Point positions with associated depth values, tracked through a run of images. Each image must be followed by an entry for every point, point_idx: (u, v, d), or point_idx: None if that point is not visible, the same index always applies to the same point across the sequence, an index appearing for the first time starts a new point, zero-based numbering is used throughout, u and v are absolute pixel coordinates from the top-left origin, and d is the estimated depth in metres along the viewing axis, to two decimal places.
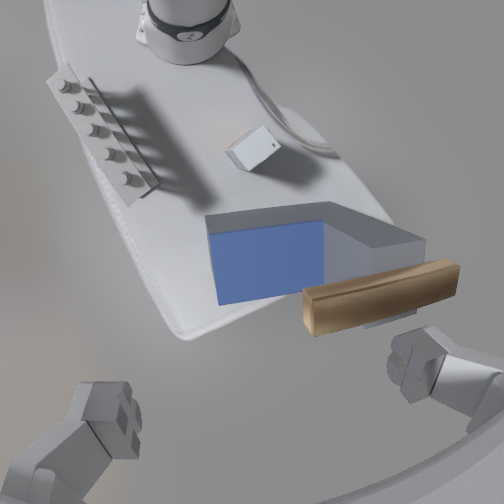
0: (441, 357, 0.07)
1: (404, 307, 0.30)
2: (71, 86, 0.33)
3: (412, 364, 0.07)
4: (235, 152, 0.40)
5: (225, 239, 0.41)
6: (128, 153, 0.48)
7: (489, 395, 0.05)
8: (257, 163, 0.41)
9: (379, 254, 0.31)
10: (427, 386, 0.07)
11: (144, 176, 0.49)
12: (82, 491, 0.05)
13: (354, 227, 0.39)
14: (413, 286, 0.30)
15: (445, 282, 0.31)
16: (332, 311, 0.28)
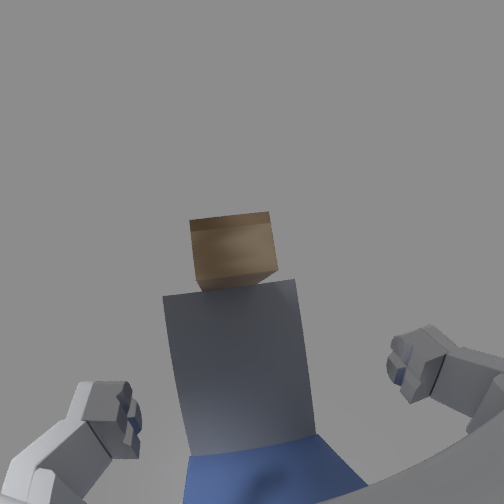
0: (441, 357, 0.07)
1: None
2: None
3: (412, 364, 0.07)
4: None
5: None
6: None
7: (489, 395, 0.05)
8: None
9: None
10: (427, 386, 0.07)
11: None
12: (82, 491, 0.05)
13: None
14: None
15: None
16: None
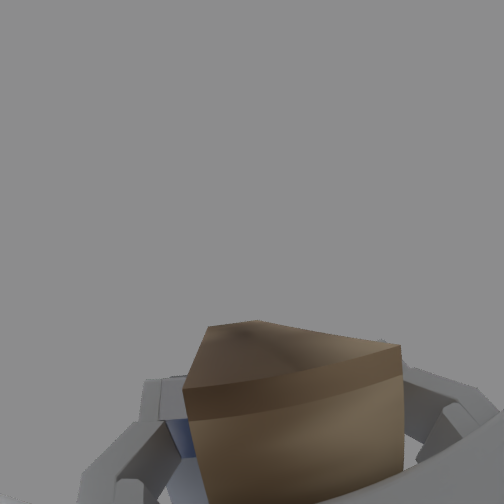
0: None
1: (268, 326, 0.16)
2: None
3: None
4: None
5: None
6: None
7: (438, 426, 0.05)
8: None
9: None
10: None
11: None
12: None
13: None
14: (222, 332, 0.16)
15: (229, 325, 0.22)
16: (255, 359, 0.07)
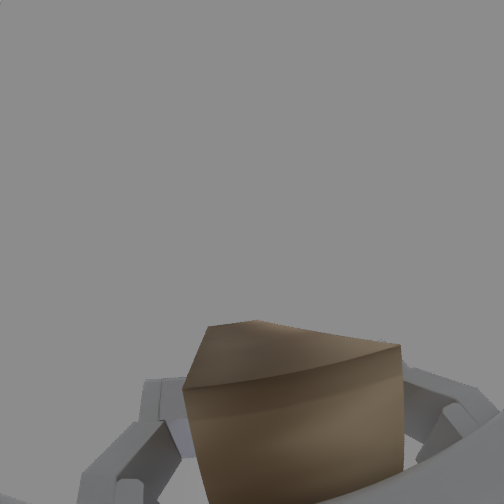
0: None
1: (268, 326, 0.16)
2: None
3: None
4: None
5: None
6: None
7: (438, 426, 0.05)
8: None
9: None
10: None
11: None
12: None
13: None
14: (222, 332, 0.16)
15: (229, 325, 0.22)
16: (255, 358, 0.07)
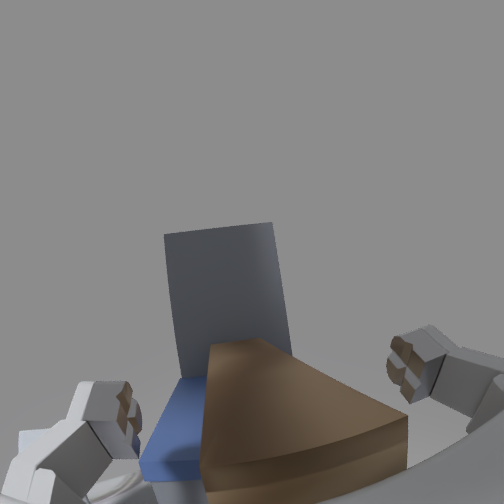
0: (441, 357, 0.07)
1: (272, 353, 0.15)
2: None
3: (412, 364, 0.07)
4: None
5: (165, 441, 0.11)
6: None
7: (489, 395, 0.05)
8: None
9: None
10: (427, 386, 0.07)
11: None
12: (83, 491, 0.05)
13: None
14: (226, 358, 0.16)
15: (232, 345, 0.21)
16: (265, 419, 0.06)
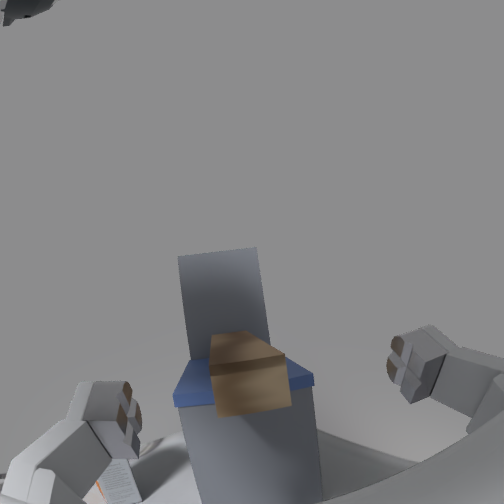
0: (441, 357, 0.07)
1: (249, 337, 0.26)
2: None
3: (412, 364, 0.07)
4: None
5: (186, 387, 0.22)
6: None
7: (489, 395, 0.05)
8: None
9: None
10: (427, 386, 0.07)
11: None
12: (83, 491, 0.05)
13: None
14: (221, 340, 0.27)
15: (226, 334, 0.32)
16: (234, 356, 0.17)
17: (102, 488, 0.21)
